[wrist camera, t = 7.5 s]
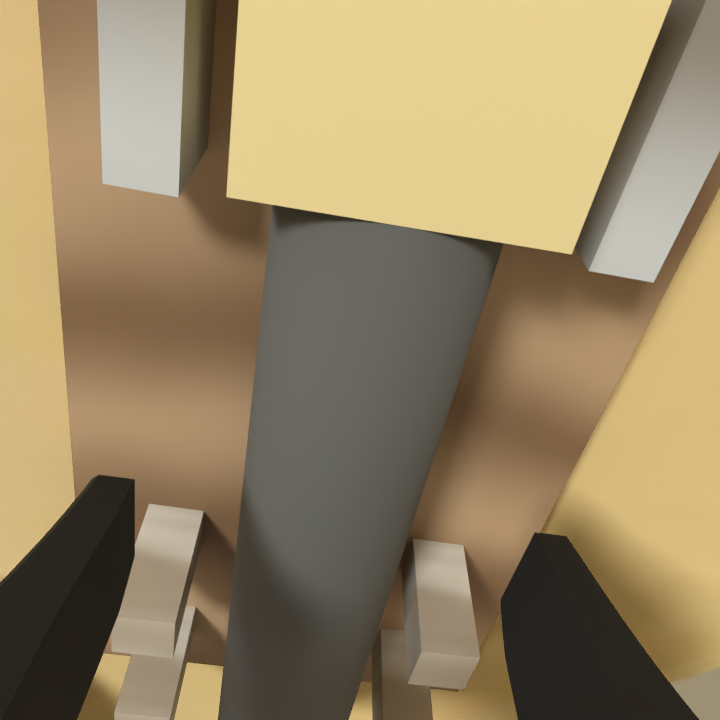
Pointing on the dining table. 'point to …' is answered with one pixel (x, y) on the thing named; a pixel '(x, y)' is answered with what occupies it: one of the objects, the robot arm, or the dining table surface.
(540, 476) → the board
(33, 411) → the dining table surface
